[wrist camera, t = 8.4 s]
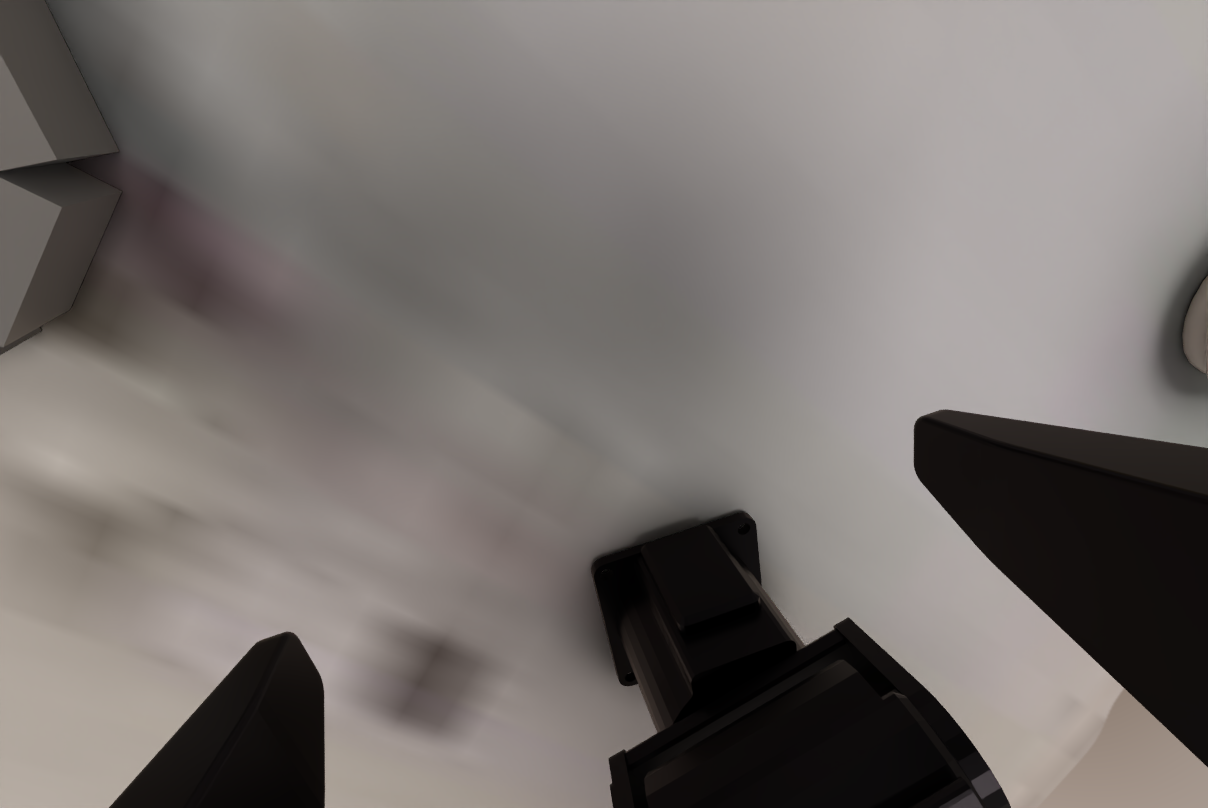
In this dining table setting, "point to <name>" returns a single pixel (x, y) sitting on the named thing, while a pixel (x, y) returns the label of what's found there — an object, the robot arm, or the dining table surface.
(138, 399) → the dining table surface
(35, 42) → the valve fitting
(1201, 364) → the flower vase
